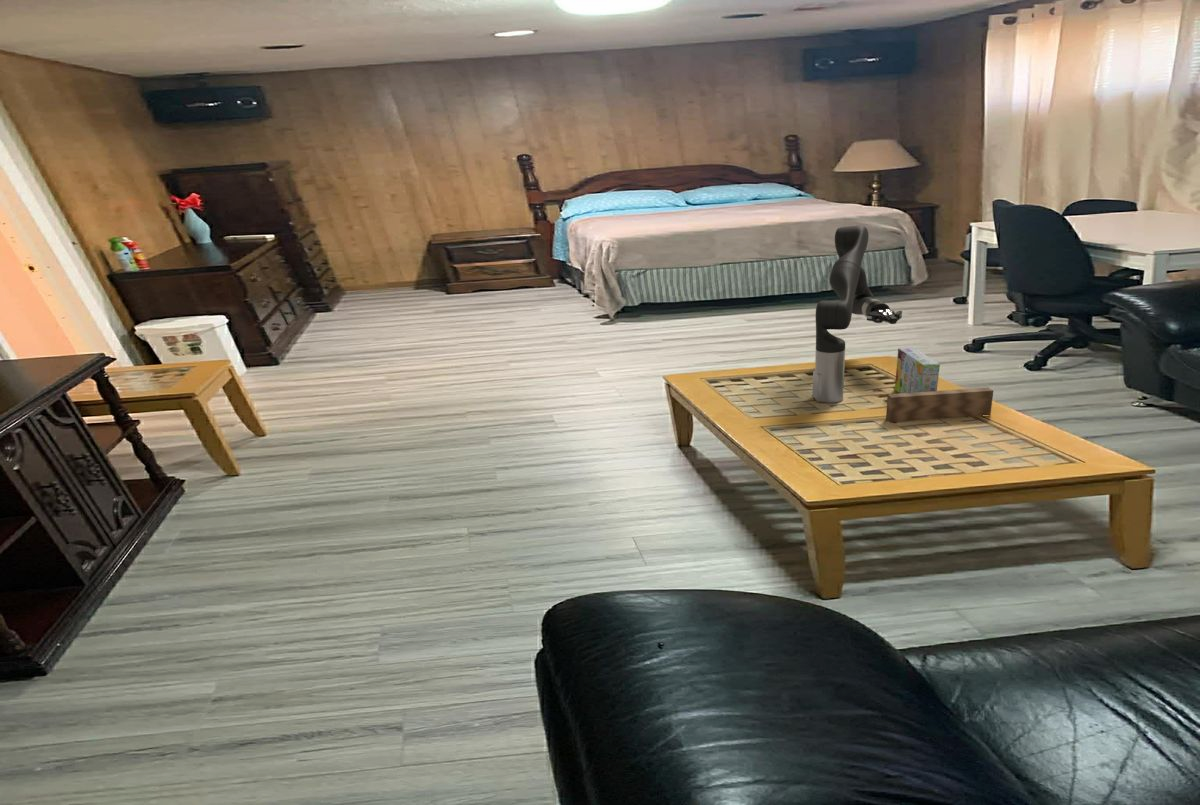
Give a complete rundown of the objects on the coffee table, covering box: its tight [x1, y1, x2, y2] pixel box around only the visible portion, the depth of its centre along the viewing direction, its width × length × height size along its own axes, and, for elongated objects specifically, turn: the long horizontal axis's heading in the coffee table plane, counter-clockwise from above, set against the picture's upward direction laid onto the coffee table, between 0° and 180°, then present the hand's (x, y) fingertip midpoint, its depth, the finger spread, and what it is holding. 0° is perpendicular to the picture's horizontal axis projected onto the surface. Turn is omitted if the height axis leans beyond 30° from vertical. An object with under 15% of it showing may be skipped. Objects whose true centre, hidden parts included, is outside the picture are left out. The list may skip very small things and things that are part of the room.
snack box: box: [894, 346, 941, 394], centre depth 221 cm, size 21×6×15 cm, turn 179°
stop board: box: [885, 386, 994, 423], centre depth 207 cm, size 30×3×8 cm, turn 90°
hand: (894, 321), depth 236 cm, fingers closed
